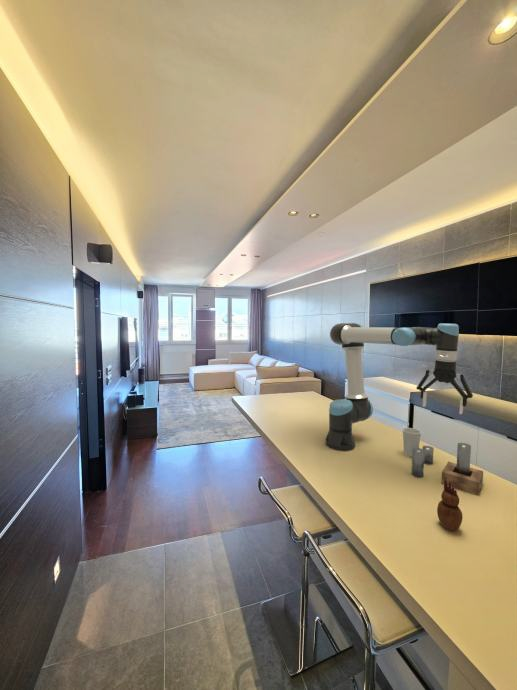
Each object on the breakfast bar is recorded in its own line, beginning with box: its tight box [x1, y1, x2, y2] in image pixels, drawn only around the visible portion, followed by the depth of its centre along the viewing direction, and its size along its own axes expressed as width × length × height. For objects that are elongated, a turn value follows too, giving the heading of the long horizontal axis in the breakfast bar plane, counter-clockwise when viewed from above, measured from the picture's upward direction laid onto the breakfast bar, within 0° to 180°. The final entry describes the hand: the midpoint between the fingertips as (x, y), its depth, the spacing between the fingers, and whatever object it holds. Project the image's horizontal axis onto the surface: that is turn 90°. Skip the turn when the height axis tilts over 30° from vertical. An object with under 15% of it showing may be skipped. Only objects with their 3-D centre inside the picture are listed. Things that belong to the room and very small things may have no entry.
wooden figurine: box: [436, 478, 463, 531], centre depth 93 cm, size 7×6×15 cm
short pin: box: [422, 445, 435, 465], centre depth 137 cm, size 4×4×7 cm
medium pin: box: [411, 447, 425, 479], centre depth 125 cm, size 4×4×11 cm
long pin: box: [456, 442, 472, 476], centre depth 118 cm, size 4×4×16 cm
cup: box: [402, 427, 422, 458], centre depth 144 cm, size 8×8×12 cm
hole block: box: [441, 461, 484, 496], centre depth 118 cm, size 12×12×5 cm
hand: (441, 409), depth 126 cm, fingers open, 13 cm apart
